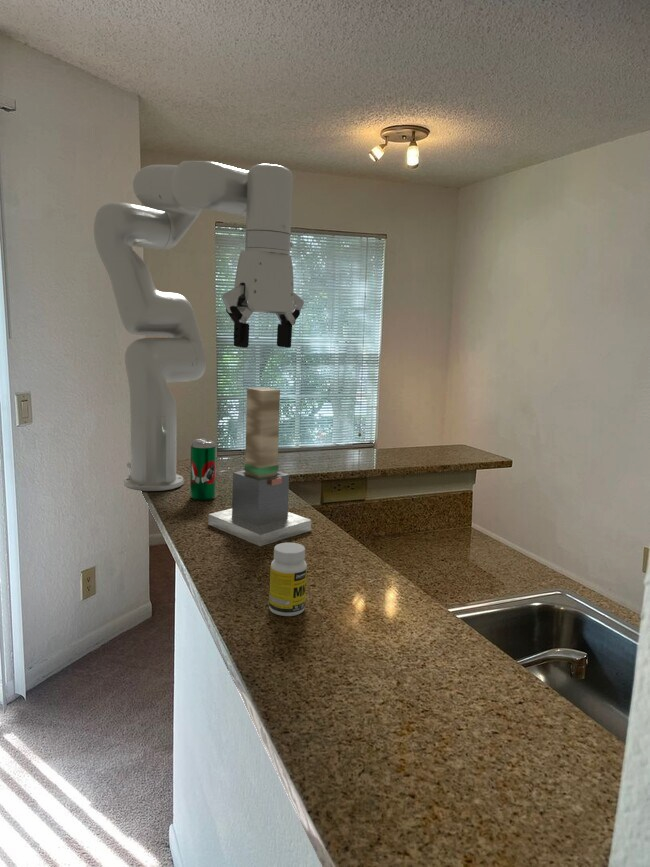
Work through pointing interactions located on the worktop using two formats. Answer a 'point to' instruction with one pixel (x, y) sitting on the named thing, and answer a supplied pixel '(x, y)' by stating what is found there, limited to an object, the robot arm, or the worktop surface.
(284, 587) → the supplement bottle
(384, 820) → the worktop surface
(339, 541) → the worktop surface
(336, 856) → the worktop surface
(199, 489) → the soda can
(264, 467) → the column
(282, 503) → the stand base
